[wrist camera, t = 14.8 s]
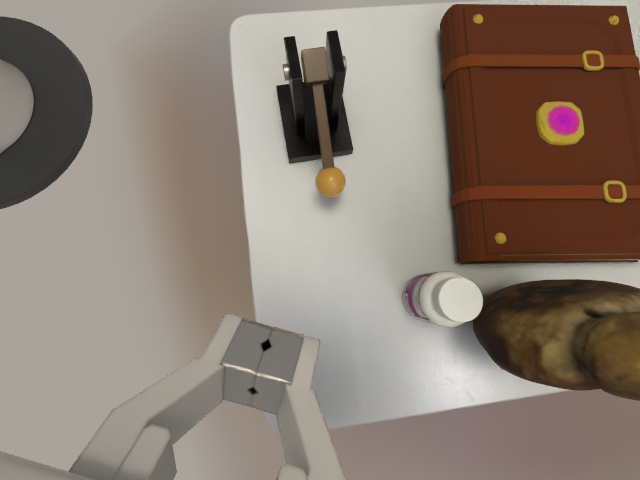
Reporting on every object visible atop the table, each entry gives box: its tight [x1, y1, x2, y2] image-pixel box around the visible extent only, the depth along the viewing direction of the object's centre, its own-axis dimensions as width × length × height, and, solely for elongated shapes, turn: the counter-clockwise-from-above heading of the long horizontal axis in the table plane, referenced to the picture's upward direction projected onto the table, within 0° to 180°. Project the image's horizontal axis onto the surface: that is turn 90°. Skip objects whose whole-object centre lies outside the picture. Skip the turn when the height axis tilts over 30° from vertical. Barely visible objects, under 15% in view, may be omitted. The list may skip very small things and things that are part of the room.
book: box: [440, 4, 640, 264], centre depth 38 cm, size 23×32×5 cm
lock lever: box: [301, 47, 346, 197], centre depth 32 cm, size 14×3×3 cm, turn 10°
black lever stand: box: [276, 30, 353, 163], centre depth 35 cm, size 10×8×12 cm
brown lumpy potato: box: [473, 279, 640, 401], centre depth 27 cm, size 13×8×20 cm, turn 97°
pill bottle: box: [403, 271, 483, 327], centre depth 33 cm, size 5×5×10 cm
